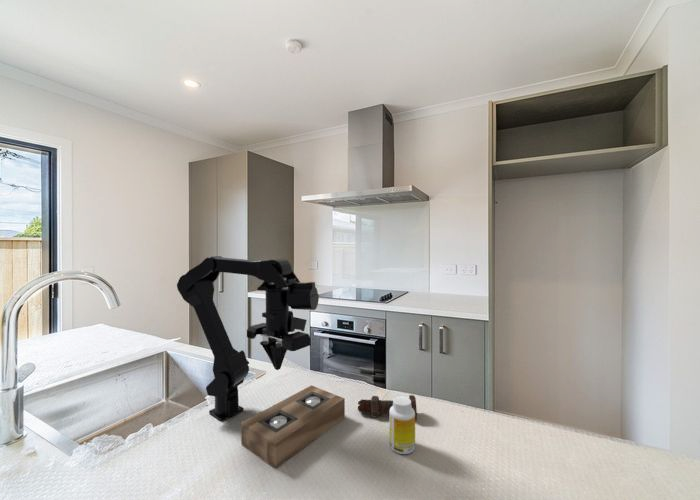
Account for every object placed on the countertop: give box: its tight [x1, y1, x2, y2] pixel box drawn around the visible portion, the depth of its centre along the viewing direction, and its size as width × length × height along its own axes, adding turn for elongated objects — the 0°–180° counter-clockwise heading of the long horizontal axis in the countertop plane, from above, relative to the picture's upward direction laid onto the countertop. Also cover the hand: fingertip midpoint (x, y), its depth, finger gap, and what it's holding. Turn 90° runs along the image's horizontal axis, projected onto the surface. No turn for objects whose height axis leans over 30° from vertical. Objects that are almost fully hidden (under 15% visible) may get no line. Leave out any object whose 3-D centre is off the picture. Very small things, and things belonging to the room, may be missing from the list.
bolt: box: [357, 394, 418, 421], centre depth 77 cm, size 6×5×15 cm
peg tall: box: [270, 416, 287, 429], centre depth 66 cm, size 4×4×5 cm
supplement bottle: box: [388, 395, 416, 455], centre depth 64 cm, size 6×6×10 cm
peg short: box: [305, 396, 320, 406], centre depth 75 cm, size 4×4×5 cm
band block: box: [240, 385, 346, 470], centre depth 71 cm, size 12×22×5 cm, turn 142°
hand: (277, 369), depth 75 cm, fingers closed
